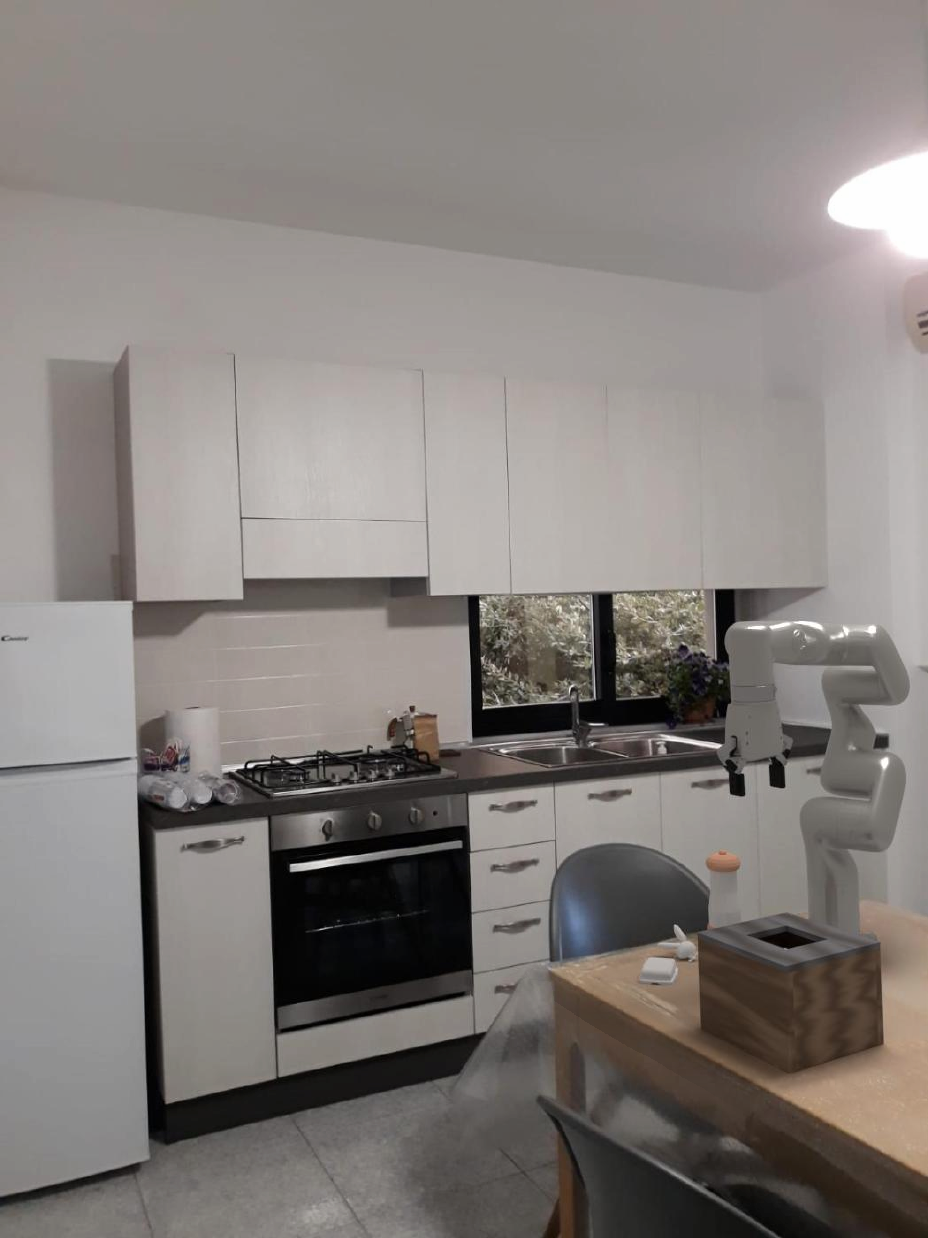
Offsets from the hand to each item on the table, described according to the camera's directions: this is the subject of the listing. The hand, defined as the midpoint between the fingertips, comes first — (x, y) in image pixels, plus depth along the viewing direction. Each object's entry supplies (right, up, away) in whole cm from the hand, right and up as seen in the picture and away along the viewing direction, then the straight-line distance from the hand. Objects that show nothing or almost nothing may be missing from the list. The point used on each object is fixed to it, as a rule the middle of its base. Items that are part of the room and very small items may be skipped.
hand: (757, 791), depth 185 cm
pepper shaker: (+3, -37, +33) cm, 50 cm away
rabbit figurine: (-9, -37, +25) cm, 46 cm away
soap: (-15, -38, +14) cm, 43 cm away
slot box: (+1, -37, -15) cm, 40 cm away
